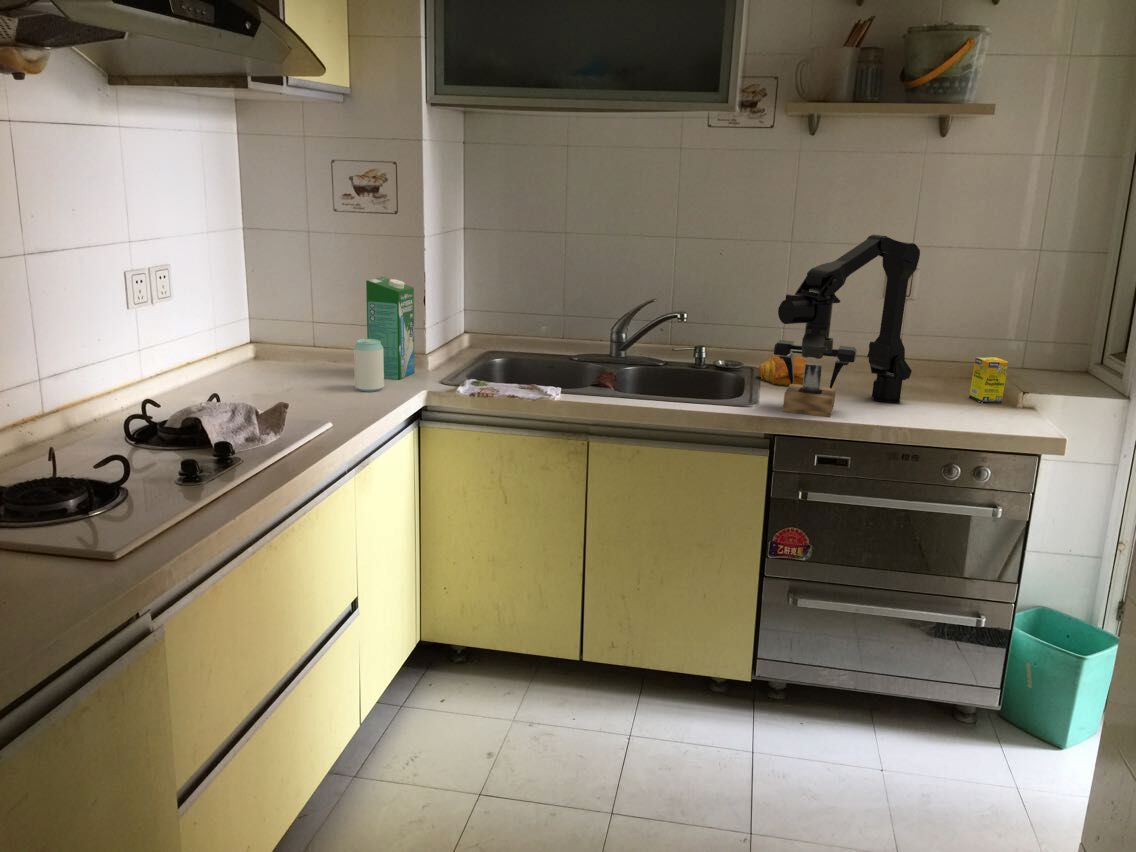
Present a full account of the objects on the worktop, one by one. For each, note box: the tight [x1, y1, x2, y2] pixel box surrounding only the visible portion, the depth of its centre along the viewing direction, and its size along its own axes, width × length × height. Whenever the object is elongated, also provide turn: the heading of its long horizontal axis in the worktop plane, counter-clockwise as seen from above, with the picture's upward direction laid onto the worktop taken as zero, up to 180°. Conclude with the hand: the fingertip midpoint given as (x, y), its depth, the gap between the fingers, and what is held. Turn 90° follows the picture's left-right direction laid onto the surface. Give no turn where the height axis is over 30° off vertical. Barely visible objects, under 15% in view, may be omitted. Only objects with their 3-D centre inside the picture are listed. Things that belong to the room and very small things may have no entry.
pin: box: [802, 362, 823, 394], centre depth 231 cm, size 4×4×10 cm
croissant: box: [757, 354, 809, 387], centre depth 261 cm, size 14×16×8 cm
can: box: [353, 338, 385, 393], centre depth 234 cm, size 7×7×12 cm
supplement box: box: [968, 356, 1010, 404], centre depth 246 cm, size 6×6×11 cm
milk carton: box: [365, 276, 415, 381], centre depth 247 cm, size 9×9×25 cm
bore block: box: [782, 384, 837, 418], centre depth 232 cm, size 11×11×4 cm
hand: (811, 386), depth 231 cm, fingers open, 9 cm apart
